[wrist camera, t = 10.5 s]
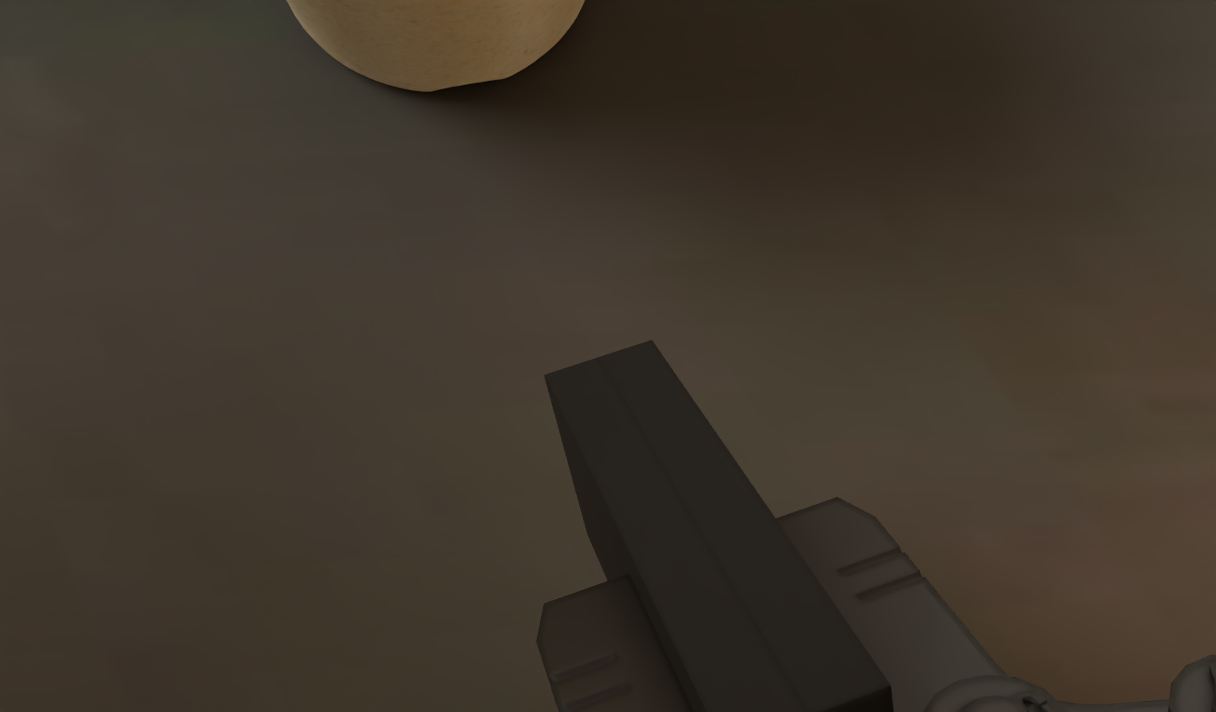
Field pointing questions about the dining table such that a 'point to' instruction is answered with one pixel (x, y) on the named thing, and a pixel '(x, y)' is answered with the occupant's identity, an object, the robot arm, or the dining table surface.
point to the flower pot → (436, 37)
